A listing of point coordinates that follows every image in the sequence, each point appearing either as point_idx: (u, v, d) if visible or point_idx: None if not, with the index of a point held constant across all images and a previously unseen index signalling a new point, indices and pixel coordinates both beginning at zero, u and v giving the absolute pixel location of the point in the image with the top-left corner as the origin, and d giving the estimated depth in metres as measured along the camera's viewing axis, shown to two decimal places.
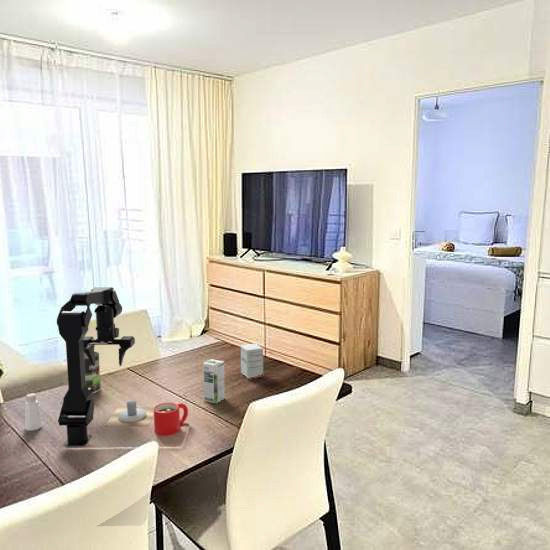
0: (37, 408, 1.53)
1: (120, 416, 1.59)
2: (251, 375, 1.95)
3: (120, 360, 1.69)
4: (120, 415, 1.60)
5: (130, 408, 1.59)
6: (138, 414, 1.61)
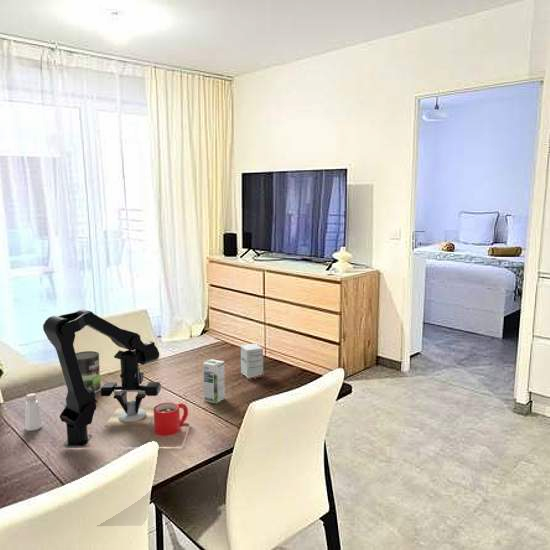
0: (37, 408, 1.53)
1: (120, 416, 1.59)
2: (251, 375, 1.95)
3: (137, 408, 1.59)
4: (120, 415, 1.60)
5: (130, 408, 1.59)
6: (138, 414, 1.61)
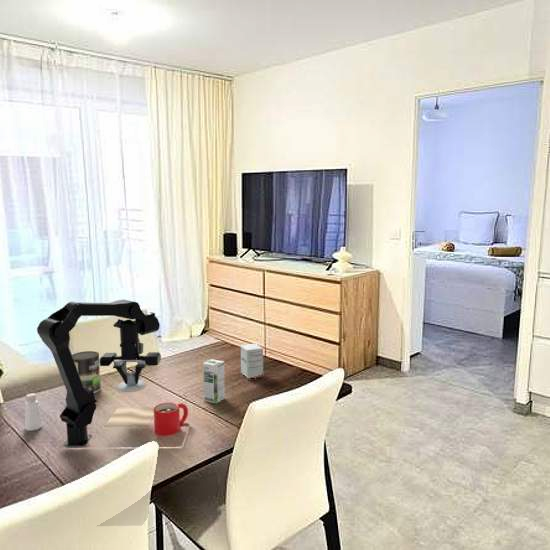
0: (37, 408, 1.53)
1: (119, 386, 1.58)
2: (251, 375, 1.95)
3: (137, 378, 1.58)
4: (120, 386, 1.58)
5: (129, 378, 1.57)
6: (137, 385, 1.59)
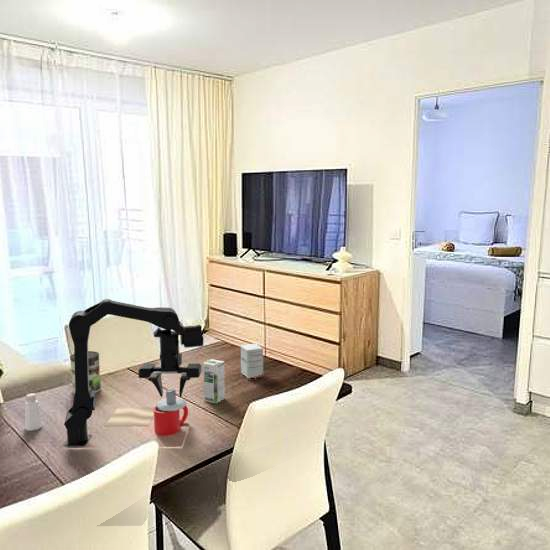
0: (37, 408, 1.53)
1: (158, 405, 1.51)
2: (251, 375, 1.95)
3: (181, 391, 1.50)
4: (159, 404, 1.51)
5: (169, 397, 1.50)
6: (177, 403, 1.52)
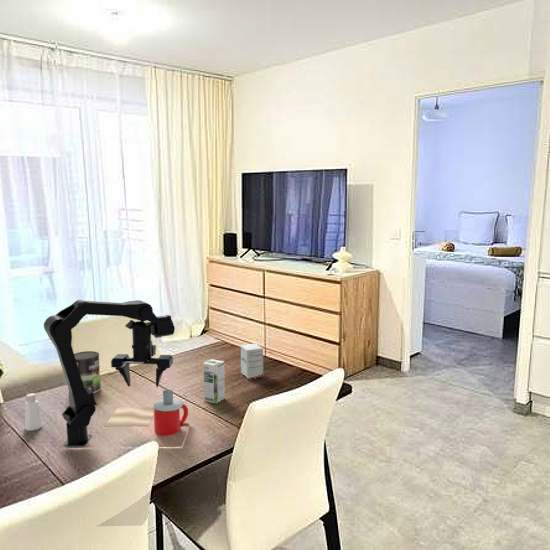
0: (37, 408, 1.53)
1: (156, 405, 1.50)
2: (251, 375, 1.95)
3: (157, 381, 1.55)
4: (156, 405, 1.51)
5: (166, 397, 1.50)
6: (174, 403, 1.52)
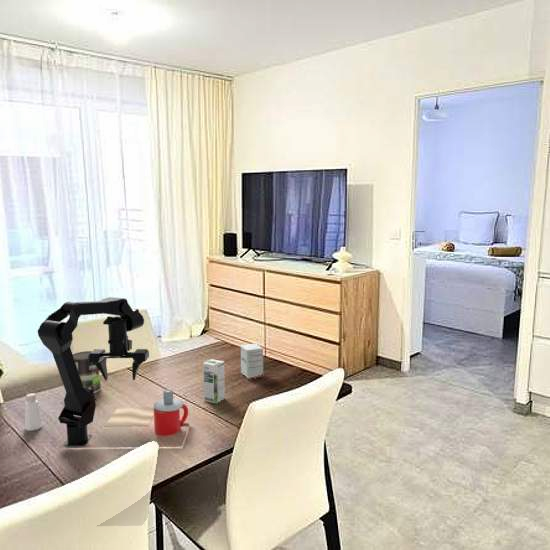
0: (37, 408, 1.53)
1: (156, 405, 1.50)
2: (251, 375, 1.95)
3: (134, 374, 1.60)
4: (156, 405, 1.51)
5: (167, 397, 1.50)
6: (175, 403, 1.52)
